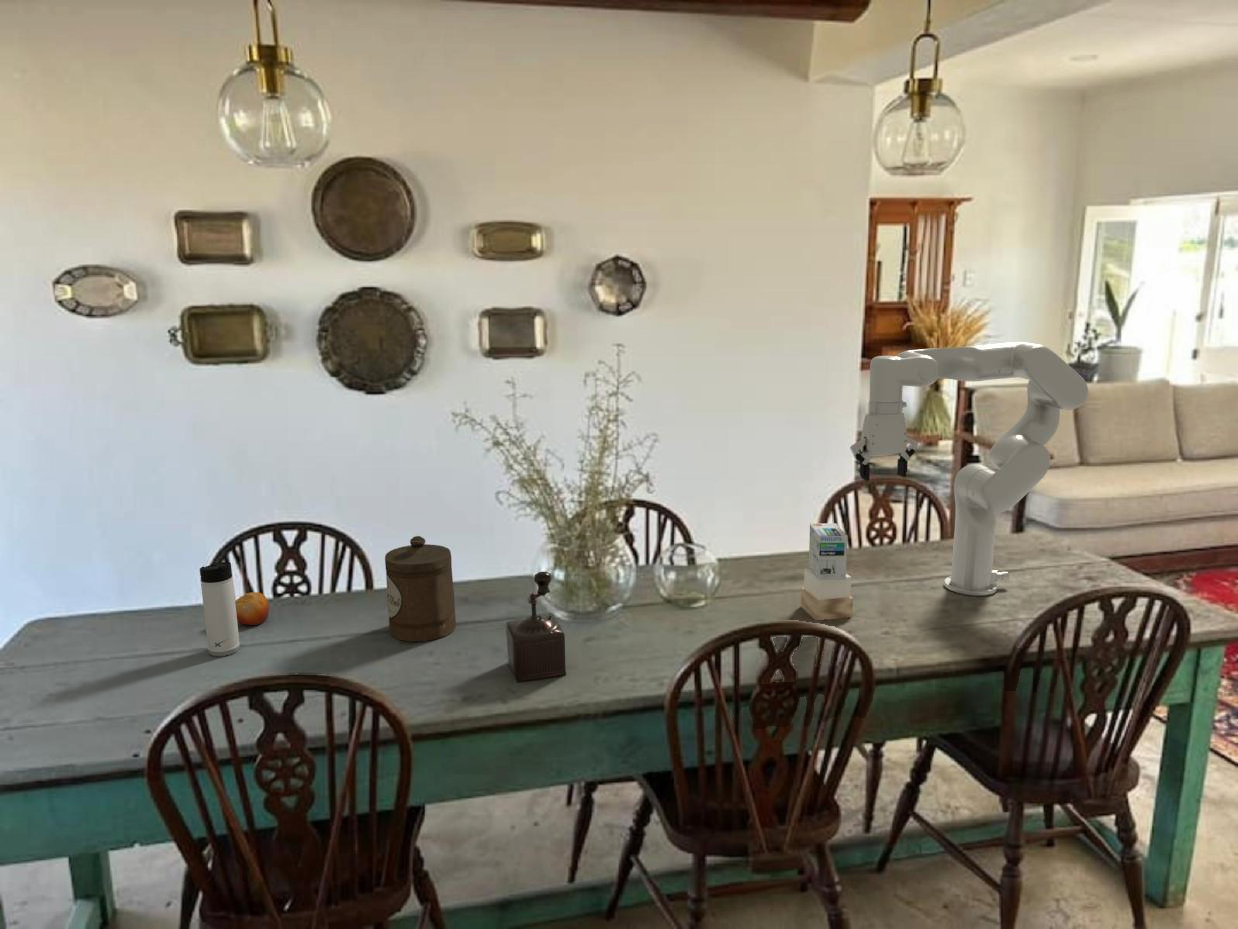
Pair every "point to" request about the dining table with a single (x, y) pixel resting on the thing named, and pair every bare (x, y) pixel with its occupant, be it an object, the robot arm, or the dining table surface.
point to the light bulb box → (828, 551)
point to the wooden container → (420, 591)
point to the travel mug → (219, 609)
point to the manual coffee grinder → (536, 641)
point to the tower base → (826, 607)
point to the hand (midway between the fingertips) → (883, 477)
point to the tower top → (826, 586)
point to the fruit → (252, 608)
